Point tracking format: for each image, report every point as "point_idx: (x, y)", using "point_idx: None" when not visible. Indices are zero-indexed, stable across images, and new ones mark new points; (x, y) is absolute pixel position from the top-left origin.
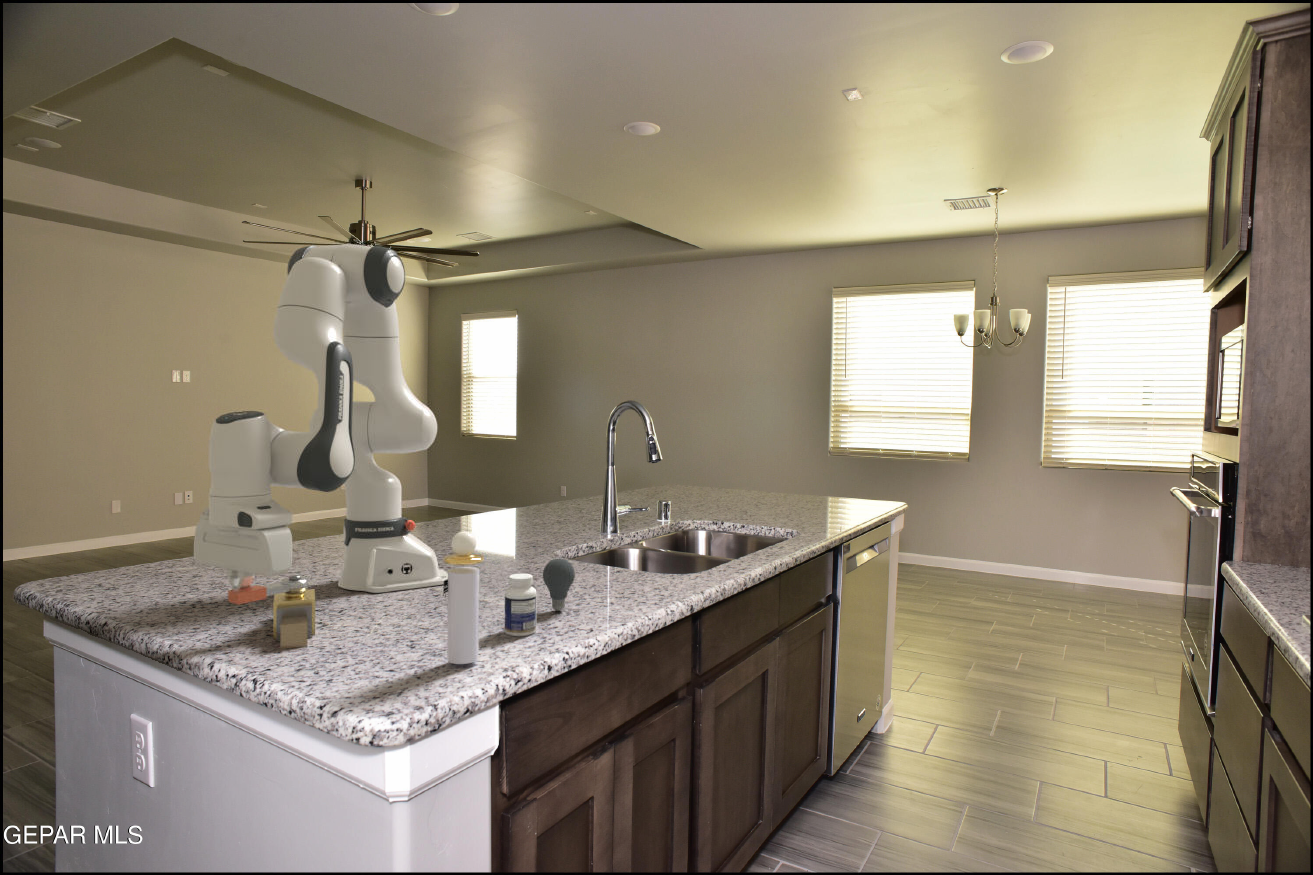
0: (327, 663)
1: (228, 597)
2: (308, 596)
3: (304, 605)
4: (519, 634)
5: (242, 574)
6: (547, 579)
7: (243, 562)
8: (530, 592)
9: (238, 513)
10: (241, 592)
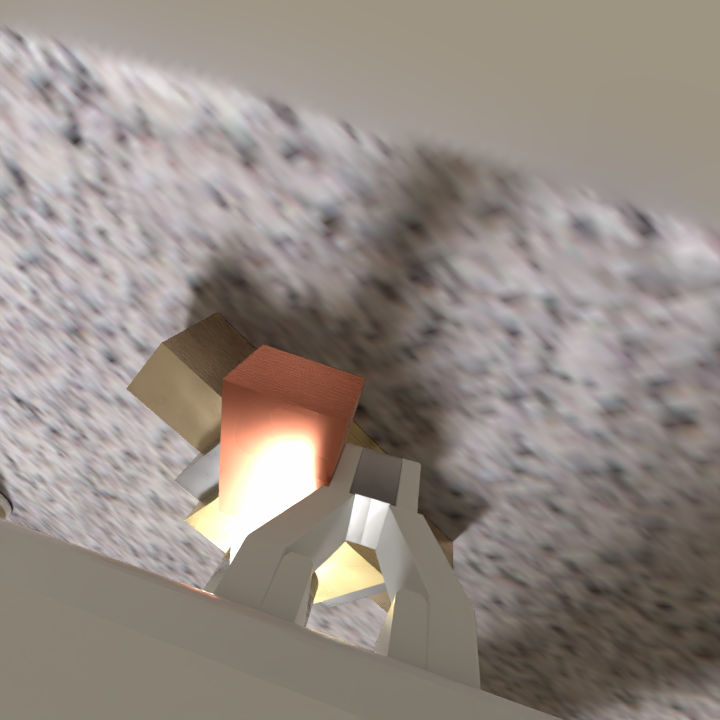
0: (23, 252)
1: (356, 392)
2: (230, 540)
3: (201, 484)
4: None
5: (239, 567)
6: None
7: (3, 694)
8: None
9: None
10: (222, 400)
